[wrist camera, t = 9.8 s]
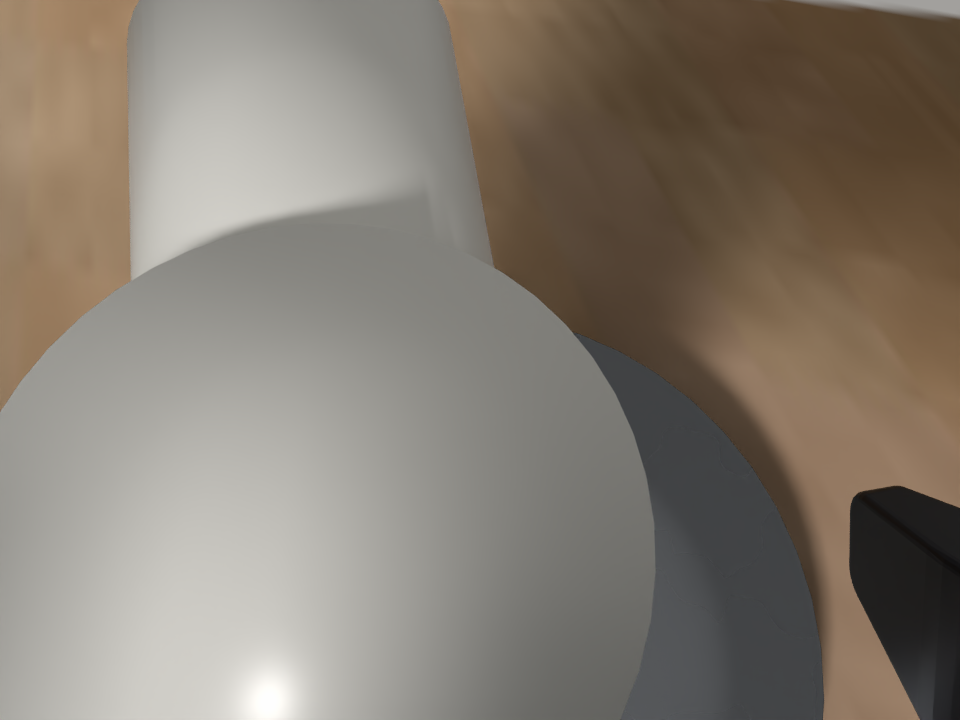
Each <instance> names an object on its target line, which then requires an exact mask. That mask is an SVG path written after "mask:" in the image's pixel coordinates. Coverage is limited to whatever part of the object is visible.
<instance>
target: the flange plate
mask: <svg viewBox="0 0 960 720" xmlns="http://www.w3.org/2000/svg"><path fill="white" fill-rule="evenodd" d="M572 333H573V334H574V335H575V336H576V338H577V339H578V340H579V341H580V342H581V344H582V345H583V346H584V347H585V348H586V350H587V351H588V352H589V353H590V355H591V356H592V357H593V359H594V360H595V362H596V363H597V365H598V367H599V368H600V370H601V371H602V373H603V375H604V376H605V378H606V379H607V381H608V383H609V384H610V386H611V387H612V389H613V391H614V392H615V394H616V396H617V398H618V401H619V403H620V405H621V407H622V410H623V412H624V414H625V416H626V418H627V421H628V423H629V425H630V427H631V429H632V432H633V434H634V437H635V440H636V444H637V447H638V450H639V454H640V457H641V460H642V464H643V467H644V470H645V473H646V477H647V483H648V489H649V495H650V501H651V507H652V513H653V519H654V535H655V567H656V572H655V582H654V592H653V603H652V613H651V621H650V626H649V630H648V634H647V638H646V643H645V647H644V651H643V656H642V660H641V664H640V668H639V672H638V674H637V677H636V680H635V682H634V685H633V688H632V690H631V693H630V696H629V698H628V701H627V704H626V706H625V709H624V711H623V714H622V717H621V719H620V720H823V707H824V692H823V675H822V658H821V646H820V640H819V635H818V630H817V624H816V619H815V614H814V608H813V603H812V598H811V595H810V592H809V588H808V585H807V582H806V579H805V576H804V573H803V569H802V566H801V563H800V560H799V557H798V554H797V551H796V549H795V546H794V544H793V542H792V540H791V538H790V536H789V533H788V531H787V529H786V527H785V525H784V522H783V520H782V518H781V516H780V514H779V512H778V509H777V507H776V506H775V504H774V502H773V501H772V499H771V498H770V496H769V494H768V493H767V491H766V489H765V488H764V486H763V485H762V483H761V481H760V480H759V478H758V476H757V475H756V473H755V472H754V470H753V468H752V467H751V466H750V464H749V463H748V462H747V461H746V459H745V458H744V457H743V456H742V454H741V453H740V452H739V451H738V449H737V448H736V447H735V446H734V444H733V443H732V442H731V441H730V439H729V438H728V437H727V436H726V434H725V433H724V432H723V431H722V430H721V429H720V428H719V427H718V426H717V425H716V424H715V423H714V422H713V421H712V420H711V419H710V418H709V417H708V416H707V415H706V414H705V413H704V412H703V411H702V410H701V409H700V408H699V407H698V406H697V405H696V404H695V403H694V402H693V401H692V400H690V399H689V398H688V397H687V396H685V395H684V394H683V393H681V392H680V391H679V390H677V389H676V388H675V387H674V386H672V385H671V384H670V383H668V382H667V381H666V380H664V379H663V378H662V377H660V376H659V375H658V374H657V373H655V372H653V371H652V370H650V369H648V368H646V367H645V366H643V365H641V364H640V363H638V362H636V361H635V360H633V359H631V358H629V357H628V356H626V355H624V354H623V353H621V352H619V351H617V350H615V349H612V348H610V347H608V346H606V345H603V344H601V343H599V342H596V341H594V340H592V339H589V338H587V337H585V336H583V335H580V334H577V333H574V332H572Z"/></svg>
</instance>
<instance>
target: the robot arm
mask: <svg viewBox="0 0 960 720" xmlns="http://www.w3.org/2000/svg"><path fill="white" fill-rule="evenodd" d="M849 566H850V575H851V579H852V583H853V586H854V589H855V592H856V594H857V596H858V598H859V600H860V602H861V604H862V606H863V608H864V610H865V612H866V614H867V616H868V618H869V620H870V622H871V624H872V625H873V627H874V629H875V631H876V633H877V635H878V637H879V639H880V641H881V643H882V645H883V647H884V649H885V651H886V653H887V655H888V657H889V659H890V661H891V663H892V665H893V667H894V669H895V671H896V673H897V675H898V677H899V679H900V681H901V683H902V685H903V687H904V689H905V691H906V693H907V695H908V697H909V698H910V700H911V702H912V704H913V706H914V708H915V710H916V712H917V714H918V716H919V718H920V720H960V508H958V507H956V506H953V505H950V504H948V503H945V502H942V501H940V500H937V499H934V498H932V497H929V496H926V495H924V494H921V493H919V492H916V491H913V490H911V489H908V488H905V487H902V486H890V487H885V488H879V489H874V490H868V491H862V492H859V493H858V494H857V495H856V496H855V497H854V498H853V500H852V503H851V508H850V558H849Z"/></svg>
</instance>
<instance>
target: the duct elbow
mask: <svg viewBox="0 0 960 720" xmlns="http://www.w3.org/2000/svg"><path fill="white" fill-rule="evenodd" d="M127 72H128V133H129V195H130V256H131V281H130V282H129V283H127V284H125V285H124V286H122V287H120V288H119V289H117V290H116V291H114V292H113V293H112V294H110V295H109V296H108V297H106V298H105V299H104V300H103V301H101V302H100V303H99V304H97V305H96V306H95V307H93V308H92V309H91V310H90V311H88V312H87V313H86V314H84V315H83V316H82V317H81V318H80V319H79V320H78V321H76V322H75V323H74V324H73V325H72V326H71V327H70V328H69V329H68V330H67V331H66V332H65V333H64V334H63V335H62V336H61V337H60V338H59V339H58V340H57V341H56V342H54V343H53V344H52V345H51V346H50V347H49V349H48V350H47V351H46V352H45V353H44V354H43V356H42V357H41V358H40V359H39V360H38V362H37V363H36V364H35V365H34V366H33V368H32V369H31V370H30V371H29V372H28V373H27V375H26V376H25V377H24V378H23V379H22V381H21V382H20V383H19V385H18V386H17V388H16V389H15V391H14V392H13V394H12V395H11V397H10V398H9V400H8V401H7V403H6V404H5V406H4V407H3V409H2V410H1V412H0V720H620V719H621V717H622V714H623V711H624V709H625V706H626V704H627V701H628V698H629V696H630V693H631V690H632V688H633V685H634V682H635V680H636V677H637V674H638V672H639V668H640V664H641V660H642V656H643V651H644V647H645V643H646V638H647V634H648V630H649V626H650V621H651V613H652V603H653V592H654V582H655V572H656V567H655V535H654V519H653V513H652V507H651V501H650V495H649V489H648V483H647V477H646V473H645V470H644V467H643V464H642V460H641V457H640V454H639V450H638V447H637V444H636V440H635V437H634V434H633V432H632V429H631V427H630V425H629V423H628V421H627V418H626V416H625V414H624V412H623V410H622V407H621V405H620V403H619V401H618V398H617V396H616V394H615V392H614V391H613V389H612V387H611V386H610V384H609V383H608V381H607V379H606V378H605V376H604V375H603V373H602V371H601V370H600V368H599V367H598V365H597V363H596V362H595V360H594V359H593V357H592V356H591V355H590V353H589V352H588V351H587V350H586V348H585V347H584V346H583V345H582V344H581V342H580V341H579V340H578V339H577V338H576V336H575V335H574V334H573V333H572V331H571V330H570V329H569V328H568V327H567V325H566V324H565V323H564V322H563V321H561V320H560V319H559V318H558V317H557V316H556V315H555V314H554V313H553V312H552V311H551V310H550V309H549V308H548V307H547V306H545V305H544V304H543V303H542V302H541V301H540V300H539V299H538V298H537V297H536V296H534V295H533V294H532V293H530V292H529V291H528V290H526V289H525V288H523V287H522V286H521V285H519V284H518V283H516V282H515V281H514V280H512V279H511V278H509V277H508V276H507V275H505V274H504V273H502V272H501V271H499V270H497V269H495V268H494V264H493V259H492V253H491V248H490V243H489V237H488V232H487V226H486V221H485V216H484V210H483V205H482V199H481V194H480V189H479V183H478V178H477V172H476V167H475V162H474V156H473V151H472V145H471V140H470V135H469V129H468V124H467V118H466V113H465V108H464V102H463V97H462V91H461V86H460V81H459V75H458V70H457V64H456V59H455V54H454V48H453V43H452V37H451V32H450V28H449V23H448V20H447V17H446V15H445V13H444V10H443V8H442V6H441V4H440V3H439V1H438V0H139V2H138V4H137V6H136V8H135V9H134V11H133V14H132V18H131V21H130V24H129V27H128V38H127Z"/></svg>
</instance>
